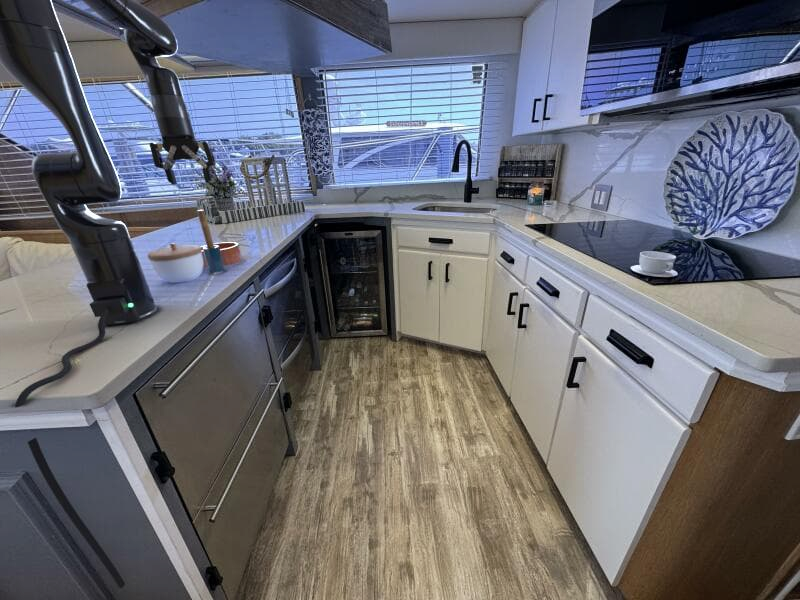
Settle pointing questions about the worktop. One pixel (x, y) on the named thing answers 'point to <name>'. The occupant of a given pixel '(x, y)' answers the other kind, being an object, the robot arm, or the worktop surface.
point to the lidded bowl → (177, 263)
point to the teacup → (655, 264)
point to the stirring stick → (205, 228)
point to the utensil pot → (214, 259)
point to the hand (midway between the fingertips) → (191, 183)
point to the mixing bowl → (226, 253)
